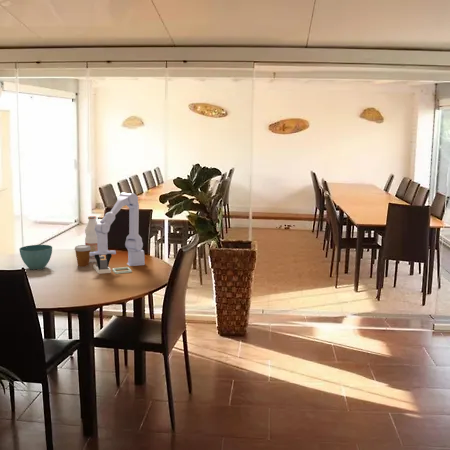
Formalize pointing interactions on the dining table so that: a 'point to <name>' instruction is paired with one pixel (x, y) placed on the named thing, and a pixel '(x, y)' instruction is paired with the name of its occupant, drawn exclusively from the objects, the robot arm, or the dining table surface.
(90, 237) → the fruit juice
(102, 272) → the strip
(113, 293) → the dining table surface
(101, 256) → the twin plug
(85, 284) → the dining table surface
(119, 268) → the tray
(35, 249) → the teal bowl
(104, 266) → the plug
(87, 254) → the disposable coffee cup
